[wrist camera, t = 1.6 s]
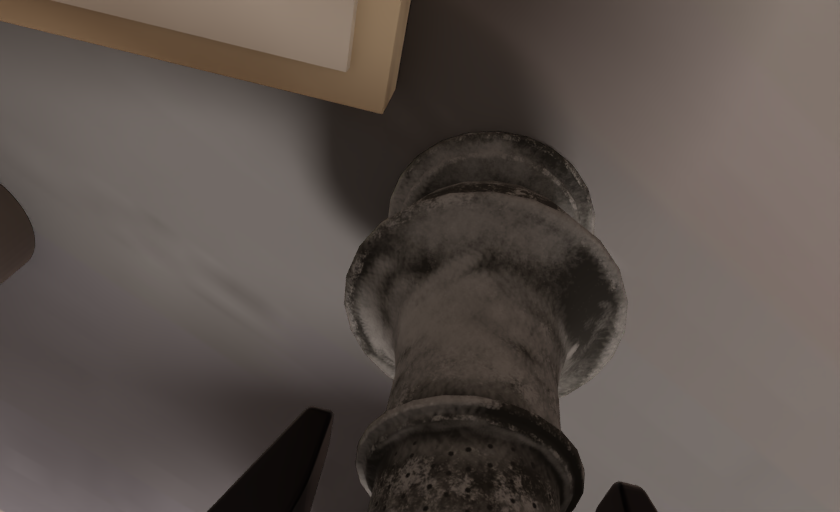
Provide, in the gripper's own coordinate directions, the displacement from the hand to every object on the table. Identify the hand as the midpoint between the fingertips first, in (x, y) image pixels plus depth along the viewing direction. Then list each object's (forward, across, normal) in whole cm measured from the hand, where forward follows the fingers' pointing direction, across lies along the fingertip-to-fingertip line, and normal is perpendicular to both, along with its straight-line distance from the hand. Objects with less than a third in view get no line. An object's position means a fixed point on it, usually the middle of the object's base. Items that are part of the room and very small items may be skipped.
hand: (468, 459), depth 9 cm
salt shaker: (+7, 0, 0) cm, 7 cm away
